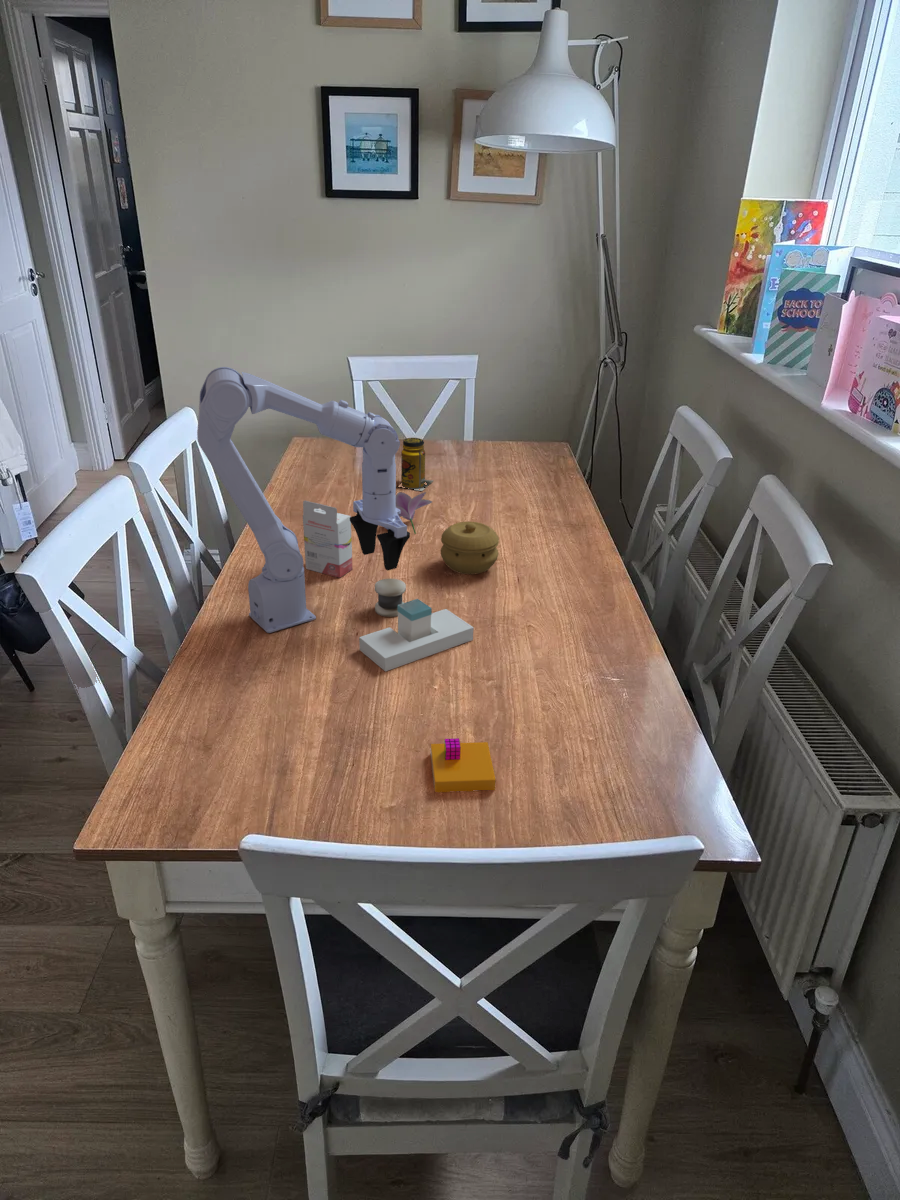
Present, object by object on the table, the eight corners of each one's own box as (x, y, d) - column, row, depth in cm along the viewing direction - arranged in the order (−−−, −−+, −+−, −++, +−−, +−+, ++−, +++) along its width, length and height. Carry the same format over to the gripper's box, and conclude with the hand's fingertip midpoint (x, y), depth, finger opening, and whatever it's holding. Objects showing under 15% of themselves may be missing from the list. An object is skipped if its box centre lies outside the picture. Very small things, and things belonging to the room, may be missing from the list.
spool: (385, 619, 145) (385, 595, 143) (369, 607, 149) (368, 583, 147) (411, 611, 148) (411, 587, 146) (394, 599, 152) (394, 575, 150)
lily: (440, 526, 187) (427, 486, 186) (438, 526, 175) (425, 483, 175) (390, 542, 187) (378, 502, 187) (386, 542, 176) (372, 500, 175)
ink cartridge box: (353, 569, 163) (352, 501, 156) (339, 578, 159) (337, 509, 152) (319, 560, 167) (315, 492, 160) (304, 569, 163) (300, 500, 156)
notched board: (385, 671, 130) (385, 658, 129) (359, 649, 136) (359, 637, 135) (472, 639, 140) (473, 627, 139) (445, 620, 146) (445, 608, 144)
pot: (507, 565, 167) (510, 520, 163) (480, 586, 158) (482, 539, 154) (458, 551, 172) (460, 508, 168) (429, 571, 163) (430, 526, 159)
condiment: (395, 487, 206) (395, 441, 200) (408, 477, 213) (408, 433, 207) (421, 491, 204) (422, 445, 198) (433, 481, 211) (435, 436, 205)
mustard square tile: (487, 754, 113) (488, 729, 111) (495, 793, 106) (496, 767, 104) (430, 756, 113) (430, 731, 111) (434, 795, 106) (435, 769, 104)
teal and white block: (411, 651, 136) (411, 614, 133) (397, 640, 139) (397, 605, 136) (430, 644, 138) (431, 608, 135) (416, 634, 141) (417, 598, 138)
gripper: (422, 497, 136) (420, 570, 142) (376, 473, 146) (377, 542, 152) (386, 505, 132) (387, 580, 138) (342, 480, 142) (344, 550, 149)
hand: (379, 560), depth 145 cm, fingers open, 7 cm apart
